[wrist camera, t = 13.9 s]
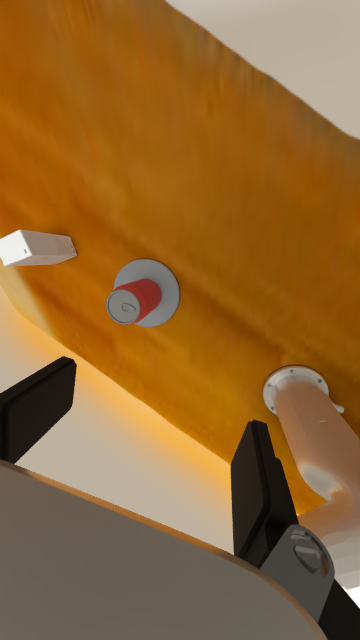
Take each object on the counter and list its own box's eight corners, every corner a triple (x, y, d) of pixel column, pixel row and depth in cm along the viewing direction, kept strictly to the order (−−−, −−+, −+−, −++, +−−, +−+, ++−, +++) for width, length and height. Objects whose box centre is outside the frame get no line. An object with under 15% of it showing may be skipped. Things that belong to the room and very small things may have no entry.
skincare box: (70, 235, 45) (20, 228, 34) (78, 255, 46) (32, 255, 35) (46, 245, 47) (-9, 241, 35) (55, 264, 47) (4, 267, 36)
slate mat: (188, 271, 43) (187, 271, 42) (169, 334, 47) (168, 335, 46) (122, 250, 44) (120, 250, 43) (110, 313, 48) (107, 314, 48)
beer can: (159, 313, 45) (140, 332, 34) (129, 305, 46) (100, 322, 35) (165, 282, 43) (146, 291, 32) (134, 274, 44) (104, 281, 33)
